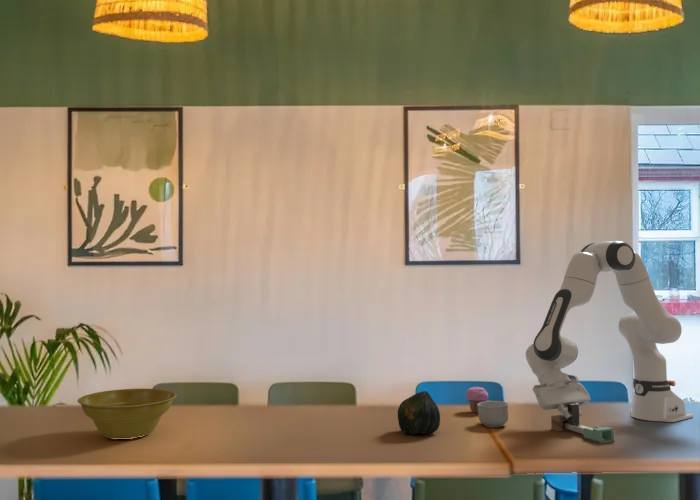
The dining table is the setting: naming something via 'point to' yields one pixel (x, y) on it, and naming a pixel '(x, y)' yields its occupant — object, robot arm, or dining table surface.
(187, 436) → the dining table surface
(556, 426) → the socket block
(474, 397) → the cupcake
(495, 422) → the teacup
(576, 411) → the two-tone rectangular rod
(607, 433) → the green slotted block
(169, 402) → the planter bowl
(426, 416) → the squash
